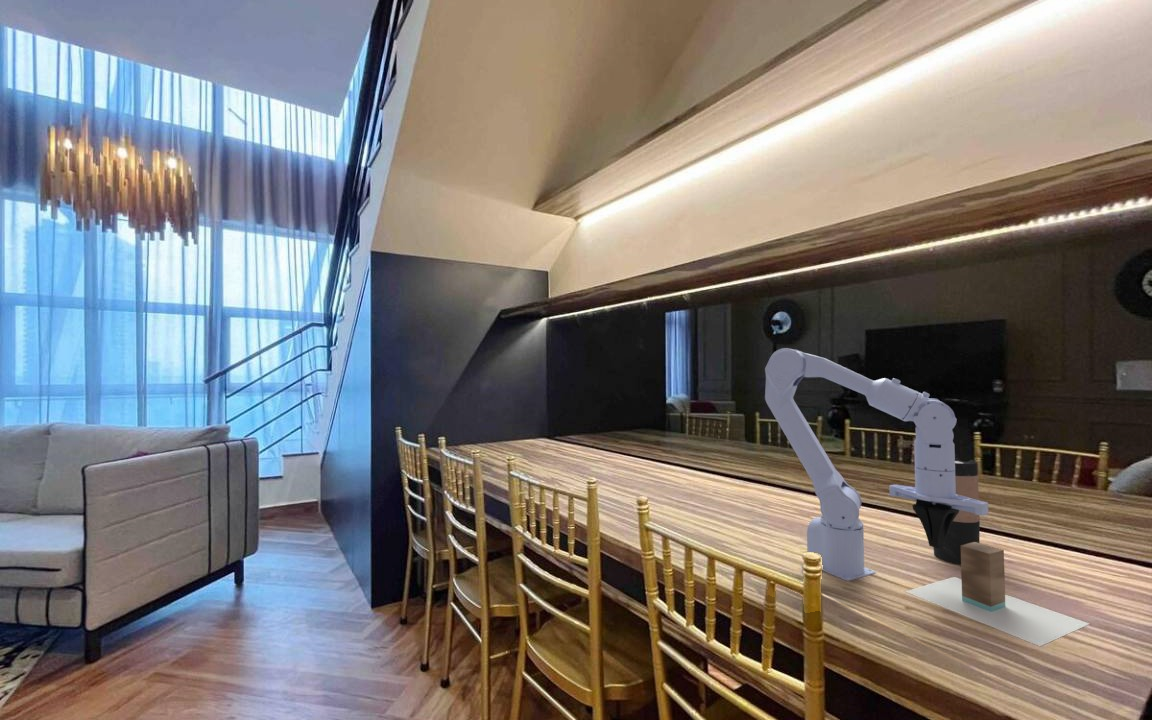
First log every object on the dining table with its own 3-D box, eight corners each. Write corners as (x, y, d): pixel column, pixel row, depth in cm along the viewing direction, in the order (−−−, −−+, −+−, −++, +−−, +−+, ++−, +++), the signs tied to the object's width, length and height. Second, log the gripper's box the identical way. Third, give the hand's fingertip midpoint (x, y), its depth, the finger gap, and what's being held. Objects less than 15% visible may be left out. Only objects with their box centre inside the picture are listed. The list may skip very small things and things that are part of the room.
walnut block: (962, 600, 79) (960, 545, 79) (976, 596, 80) (974, 541, 81) (991, 611, 75) (989, 553, 75) (1005, 606, 77) (1003, 549, 77)
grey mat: (905, 593, 82) (904, 591, 82) (954, 578, 88) (954, 576, 88) (1040, 649, 66) (1040, 646, 66) (1089, 626, 71) (1089, 623, 71)
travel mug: (939, 564, 94) (936, 462, 95) (927, 550, 101) (924, 455, 102) (987, 570, 92) (984, 464, 92) (971, 555, 99) (969, 458, 99)
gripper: (878, 463, 89) (880, 537, 89) (971, 478, 76) (974, 565, 76) (901, 460, 92) (902, 531, 92) (993, 474, 79) (996, 556, 79)
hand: (936, 546), depth 84 cm, fingers closed
